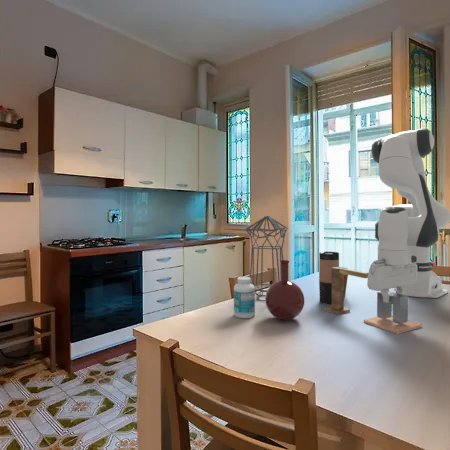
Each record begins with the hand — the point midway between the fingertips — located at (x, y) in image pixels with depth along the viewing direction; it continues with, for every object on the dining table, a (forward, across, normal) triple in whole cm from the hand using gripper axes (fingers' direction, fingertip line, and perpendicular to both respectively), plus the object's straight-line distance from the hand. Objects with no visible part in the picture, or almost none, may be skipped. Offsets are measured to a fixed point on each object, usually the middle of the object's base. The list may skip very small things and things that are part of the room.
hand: (392, 300), depth 107 cm
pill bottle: (+8, -36, +32) cm, 49 cm away
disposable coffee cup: (+8, +12, +34) cm, 37 cm away
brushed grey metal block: (+6, 0, 0) cm, 6 cm away
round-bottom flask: (+8, -26, +22) cm, 35 cm away
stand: (+8, -4, +14) cm, 17 cm away
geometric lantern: (+8, -15, +47) cm, 50 cm away
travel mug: (+8, +2, +29) cm, 30 cm away
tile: (+8, 0, 0) cm, 8 cm away
